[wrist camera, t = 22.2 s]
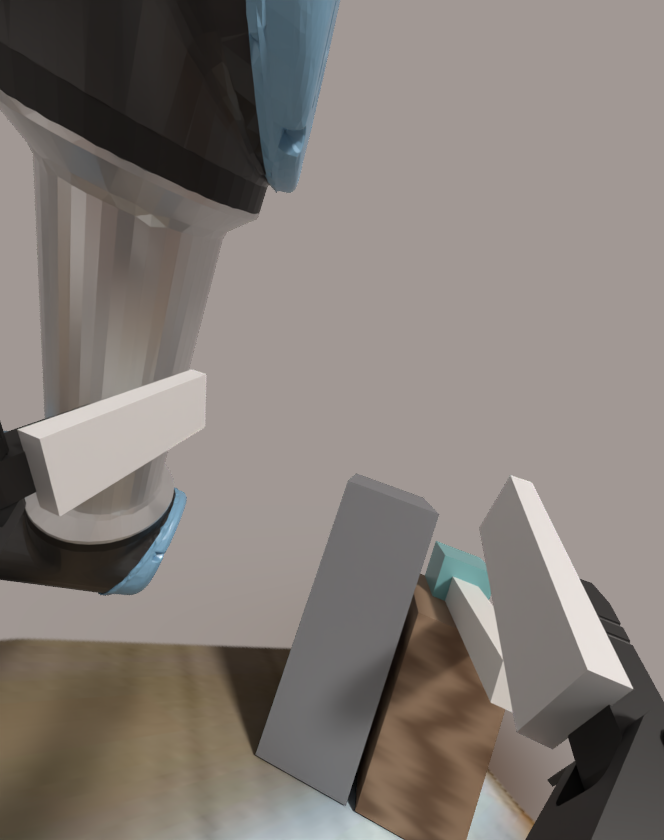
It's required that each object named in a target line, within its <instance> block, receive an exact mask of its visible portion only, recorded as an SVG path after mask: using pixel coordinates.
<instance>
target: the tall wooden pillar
mask: <svg viewBox="0 0 664 840" xmlns="http://www.w3.org/2000/svg"><path fill="white" fill-rule="evenodd" d="M504 712H505V709H504V708H502V707H499V706H497V705H495V704H493V703H491V702H490V700H489V698H488V696H487V694H486V691H485V689H484V687H483V685H482V682H481V680H480V678H479V676H478V674H477V671H476V669H475V667H474V665H473V662H472V660H471V658H470V656H469V653H468V651H467V649H466V647H465V645H464V642H463V640H462V638H461V636H460V633H459V631H458V629H457V627H456V624H455V622H454V620H453V618H452V616H451V613H450V611H449V609H448V607H447V604H446V602H445V601H444V600H441V599H439V598H437V597H434V596H432V593H431V591H430V588H429V586H428V583H427V580H426V578H425V575H422V574H420V575H419V578H418V582H417V585H416V588H415V591H414V594H413V597H412V600H411V603H410V607H409V610H408V613H407V616H406V619H405V622H404V625H403V628H402V631H401V635H400V638H399V641H398V644H397V647H396V650H395V653H394V656H393V659H392V663H391V666H390V669H389V672H388V675H387V678H386V681H385V684H384V687H383V691H382V694H381V697H380V700H379V703H378V706H377V709H376V712H375V715H374V719H373V722H372V725H371V728H370V731H369V734H368V737H367V740H366V744H365V747H364V750H363V753H362V756H361V759H360V762H359V765H358V775H357V790H356V805H355V811H356V812H357V813H359V814H361V815H363V816H365V817H366V818H368V819H370V820H372V821H373V822H375V823H377V824H379V825H380V826H382V827H384V828H386V829H388V830H389V831H391V832H393V833H395V834H396V835H398V836H400V837H402V838H403V839H405V840H466V839H467V836H468V832H469V829H470V826H471V822H472V819H473V816H474V812H475V809H476V806H477V802H478V799H479V796H480V792H481V789H482V786H483V782H484V779H485V776H486V772H487V769H488V765H489V762H490V759H491V756H492V752H493V749H494V746H495V742H496V739H497V735H498V732H499V729H500V726H501V722H502V719H503V715H504Z"/></svg>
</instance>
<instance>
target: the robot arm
mask: <svg viewBox="0 0 664 840" xmlns="http://www.w3.org/2000/svg"><path fill="white" fill-rule="evenodd" d="M339 3H340V0H0V110H1V111H2V112H3V114H4V115H5V116H6V117H7V119H8V120H9V121H10V122H11V123H12V125H13V126H14V127H15V128H16V130H17V131H18V132H19V133H20V134H21V136H22V137H23V138H24V139H25V141H26V142H27V143H28V145H29V147H30V149H31V151H32V153H33V164H34V186H35V187H34V188H35V210H36V231H37V255H38V277H39V299H40V322H41V344H42V366H43V389H44V411H45V419H43V420H40V421H37V422H34V423H31V424H28V425H25V426H22V427H19V428H17V429H14V430H11V431H3V429H2V425H1V423H0V580H7V581H14V582H22V583H30V584H38V585H45V586H53V587H61V588H69V589H76V590H83V591H92V592H98V593H99V594H100V595H111V594H122V595H133V594H136V593H138V592H140V591H142V590H143V589H144V588H145V587H146V586H147V585H148V584H149V583H150V581H151V580H152V578H153V576H154V575H155V573H156V571H157V569H158V567H159V565H160V563H161V561H162V559H163V556H164V553H165V552H166V550H167V548H168V547H169V545H170V543H171V540H172V538H173V536H174V534H175V531H176V529H177V526H178V524H179V522H180V519H181V516H182V513H183V511H184V508H185V504H186V498H187V497H186V495H185V493H184V492H182V491H179V490H178V489H177V488H174V480H173V476H172V474H171V472H170V470H169V468H168V467H167V466H166V464H165V460H166V457H167V453H168V450H169V449H170V448H172V447H174V446H175V445H177V444H179V443H180V442H182V441H183V440H185V439H187V438H188V437H189V436H192V435H193V434H195V433H196V432H198V431H200V430H201V429H203V428H204V427H205V408H206V374H204V373H201V372H198V371H195V370H189V368H190V364H191V360H192V356H193V352H194V348H195V344H196V340H197V337H198V333H199V329H200V325H201V321H202V317H203V314H204V310H205V306H206V302H207V298H208V294H209V290H210V286H211V282H212V279H213V275H214V271H215V267H216V263H217V259H218V255H219V252H220V248H221V244H222V240H223V238H224V236H225V235H226V233H227V232H228V231H231V230H233V229H235V228H237V227H240V226H242V225H244V224H246V223H249V222H251V221H254V220H256V219H257V218H258V215H259V212H260V209H261V206H262V202H263V199H264V196H265V192H266V189H267V187H268V185H270V186H271V187H272V188H273V189H274V190H275V191H276V193H277V191H282V192H287V193H291V192H292V191H294V190H295V188H296V186H297V183H298V180H299V177H300V173H301V168H302V163H303V159H304V156H305V151H306V148H307V144H308V139H309V135H310V132H311V128H312V123H313V119H314V115H315V110H316V106H317V102H318V97H319V93H320V89H321V84H322V80H323V75H324V71H325V67H326V62H327V58H328V53H329V49H330V44H331V39H332V35H333V31H334V26H335V22H336V17H337V12H338V7H339ZM479 529H480V535H481V540H482V546H483V551H484V557H485V562H486V568H487V573H488V579H489V584H490V590H491V595H492V601H493V606H494V612H495V617H496V623H497V628H498V634H499V639H500V645H501V650H502V656H503V661H504V667H505V672H506V678H507V683H508V689H509V694H510V700H511V705H512V711H513V716H514V721H515V727H516V732H517V733H519V734H521V735H523V736H526V737H528V738H530V739H532V740H534V741H536V742H538V743H540V744H542V745H545V746H547V747H549V748H551V749H554V748H555V747H556V746H558V745H559V744H560V743H562V742H563V741H564V740H566V739H567V738H569V742H570V745H571V749H572V752H573V756H574V759H575V761H574V762H573V763H571V764H570V765H568V766H567V767H565V768H564V769H562V770H561V771H559V772H558V773H556V774H555V775H553V776H552V777H551V778H549V779H548V781H549V783H550V784H551V785H552V786H555V785H556V784H557V785H556V787H555V788H554V790H553V792H552V794H551V795H550V797H549V799H548V801H547V802H546V804H545V806H544V808H543V810H542V811H541V813H540V815H539V817H538V818H537V820H536V822H535V824H534V825H533V827H532V829H531V831H530V832H529V834H528V836H527V838H526V840H664V702H663V700H662V698H661V696H660V694H659V692H658V691H657V689H656V687H655V685H654V683H653V682H652V680H651V678H650V676H649V674H648V672H647V671H646V669H645V667H644V665H643V663H642V662H641V660H640V658H639V656H638V654H637V652H636V651H635V649H634V647H633V645H631V644H630V640H629V638H628V636H627V634H626V632H625V631H624V629H623V628H622V627H620V621H619V620H618V618H617V616H616V614H615V612H614V611H613V609H612V607H611V605H610V603H609V602H608V601H607V600H606V599H605V598H604V596H603V595H602V594H601V593H600V592H599V591H598V590H597V588H596V587H595V586H594V585H593V584H592V583H590V582H587V581H584V580H582V579H579V577H578V575H577V573H576V571H575V569H574V567H573V565H572V563H571V561H570V559H569V557H568V555H567V553H566V551H565V549H564V547H563V545H562V543H561V540H560V539H559V537H558V534H557V532H556V530H555V528H554V526H553V524H552V522H551V520H550V518H549V516H548V514H547V512H546V510H545V508H544V506H543V504H542V502H541V500H540V498H539V496H538V494H537V492H536V490H535V488H534V486H533V484H532V482H529V481H526V480H523V479H520V478H517V477H514V476H510V477H509V479H508V480H507V482H506V484H505V485H504V487H503V489H502V490H501V492H500V494H499V495H498V497H497V499H496V500H495V502H494V504H493V506H492V507H491V509H490V511H489V512H488V514H487V516H486V517H485V519H484V521H483V522H482V524H481V526H480V527H479Z"/></svg>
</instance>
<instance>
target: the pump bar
mask: <svg viewBox="0 0 664 840" xmlns="http://www.w3.org/2000/svg"><path fill="white" fill-rule="evenodd" d="M425 578H426V580H427V583H428V586H429V588H430V591H431V593H432V596H434V597H437V598H439V599H441V600H444V601H445V602H446V604H447V607H448V609H449V611H450V613H451V616H452V618H453V620H454V622H455V624H456V627H457V629H458V631H459V633H460V636H461V638H462V640H463V642H464V645H465V647H466V649H467V651H468V653H469V656H470V658H471V660H472V662H473V665H474V667H475V669H476V671H477V674H478V676H479V678H480V680H481V682H482V685H483V687H484V689H485V691H486V694H487V696H488V698H489V700H490V702H491V703H493V704H495V705H497V706H499V707H502V708H504V709H506V710H508V711H510V712H513V711H512V705H511V700H510V694H509V689H508V683H507V678H506V672H505V667H504V661H503V656H502V650H501V645H500V639H499V634H498V628H497V623H496V617H495V612H494V607H493V605H492V604H491V603H490V601H489V599H490V595H491V590H490V584H489V579H488V573H487V568H486V563H485V562H484V561H483V560H482V559H481V558H479V557H477V556H474V555H471V554H469V553H466V552H464V551H461V550H458V549H456V548H453V547H451V546H447V545H445V544H443V543H440V542H438V541H436V543H435V546H434V549H433V552H432V555H431V558H430V562H429V564H428V568H427V571H426V574H425Z"/></svg>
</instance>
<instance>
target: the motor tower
mask: <svg viewBox="0 0 664 840" xmlns="http://www.w3.org/2000/svg"><path fill="white" fill-rule="evenodd" d="M438 516H439V514H438V513H437V512H436V511H435V509H433V507H432V506H431V505H430V504H429V503H428V502H427V501H426V500H425V499H424V498H423V497H420V496H417V495H414V494H412V493H409V492H406V491H403V490H400V489H398V488H395V487H392V486H389V485H387V484H384V483H381V482H378V481H376V480H373V479H370V478H367V477H364V476H362V475H359V474H355V475H354V476H353V477H352V478H351V479H350V480H348V483H347V486H346V489H345V491H344V494H343V497H342V501H341V503H340V506H339V509H338V512H337V515H336V518H335V521H334V524H333V527H332V530H331V533H330V536H329V539H328V542H327V545H326V548H325V551H324V554H323V556H322V559H321V562H320V566H319V568H318V571H317V574H316V577H315V580H314V583H313V586H312V589H311V592H310V595H309V598H308V601H307V604H306V607H305V610H304V613H303V616H302V619H301V622H300V624H299V628H298V631H297V633H296V636H295V640H294V642H293V645H292V648H291V651H290V654H289V657H288V660H287V663H286V666H285V669H284V672H283V675H282V678H281V681H280V684H279V686H278V689H277V692H276V695H275V698H274V701H273V704H272V707H271V710H270V713H269V716H268V719H267V722H266V725H265V728H264V731H263V734H262V737H261V740H260V743H259V746H258V749H257V751H256V754H255V755H257V756H258V757H260V758H262V759H264V760H265V761H267V762H269V763H271V764H272V765H274V766H276V767H278V768H280V769H281V770H283V771H285V772H287V773H288V774H290V775H292V776H294V777H295V778H297V779H299V780H301V781H303V782H304V783H306V784H308V785H310V786H311V787H313V788H315V789H317V790H318V791H320V792H322V793H324V794H326V795H327V796H329V797H331V798H333V799H334V800H336V801H338V802H340V803H342V804H343V805H345V806H346V803H347V800H348V796H349V793H350V790H351V787H352V784H353V781H354V778H355V775H356V772H357V768H358V765H359V762H360V759H361V756H362V753H363V750H364V747H365V744H366V740H367V737H368V734H369V731H370V728H371V725H372V722H373V719H374V715H375V712H376V709H377V706H378V703H379V700H380V697H381V694H382V691H383V687H384V684H385V681H386V678H387V675H388V672H389V669H390V666H391V663H392V659H393V656H394V653H395V650H396V647H397V644H398V641H399V638H400V635H401V631H402V628H403V625H404V622H405V619H406V616H407V613H408V610H409V607H410V603H411V600H412V597H413V594H414V591H415V588H416V585H417V582H418V578H419V575H420V572H421V569H422V566H423V563H424V560H425V557H426V554H427V550H428V547H429V544H430V541H431V538H432V535H433V531H434V528H435V526H436V522H437V519H438Z"/></svg>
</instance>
